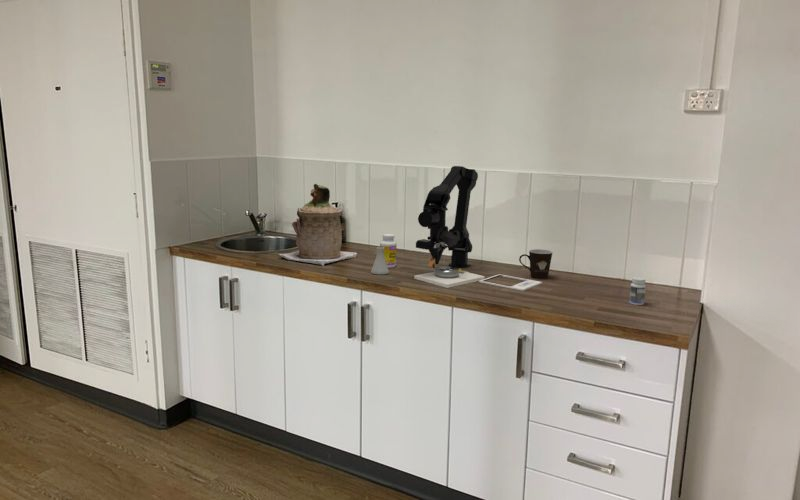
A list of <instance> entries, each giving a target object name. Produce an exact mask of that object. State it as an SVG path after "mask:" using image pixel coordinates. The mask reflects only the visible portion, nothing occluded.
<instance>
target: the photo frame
mask: <svg viewBox="0 0 800 500" xmlns="http://www.w3.org/2000/svg"><path fill="white" fill-rule="evenodd" d="M500 276H501V277H503V278H509V279H514V280H521V281H522V282H519V283H516V284H514V285H511V286H510V285H505V284H499V283H493V282H489V281H487V280H490V279H492V278H496V277H500ZM478 282H479V283H480V284H481V283H483V284H485V285H486V284H487V285H492V286H497V287H500V288H501V287H502V288H507V289H511V290H512V289H513V290H516V291H522V292H523V291H526V290H529V289H531V288H534V287H536V286H539V285H541V284H543V281H540V280H539V281H538V280H534V279H527V278H523V277H517V276H513V275H512V276H511V275H506V274H500V273H499V274H496V275H492V276H489V277H487V278H486V277H485V279H483V280H480V281H478Z"/></svg>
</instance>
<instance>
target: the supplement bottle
mask: <svg viewBox="0 0 800 500" xmlns="http://www.w3.org/2000/svg"><path fill="white" fill-rule="evenodd" d="M397 245H398V244H397V241H395V234H393V233H384V234H382V240H381V241H380V242H379V247H384V258H385V261H386V265H387V268H388V269H389V268H394V267H396V266H397Z"/></svg>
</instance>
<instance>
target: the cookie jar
mask: <svg viewBox="0 0 800 500" xmlns="http://www.w3.org/2000/svg"><path fill="white" fill-rule="evenodd" d="M330 194H331V191H330V189H329V188H328V187H327V186H324V185H320V184H318V183H314V184H313V188H312V189H311V190H310V196H311V197H312V199H311V200H310V201H309V202H307V203H305V204H304V206H302V207H301V206H299V207H298V208H297V211H296V215H297V217H298V218H296V220H295V221H293V222H292V223H291V227H292V228H293V230H294V232H295V234H296V236H295V238H296V239H295V245H296V246H297V248H298V250H296V251H292V252H289V253H279V254H278V255H279V256H280V257H281V258H284V259H286V260H288V261H295V262H296V261H297V262H303V263H308V264H309V263H310V264H314V265H319V266H322V267H324V266H325V264H330V263H335V262H338V261H342V260H343V261H344V260H346V259H353V258H354V259H355V258H356V257H357V255H358V253H357V252H352V251H341V248H342V242H343V241H342V240H343V235H342V231H343V230H342V225H341V224H342V223H341V217H340V216H341V215H342V213H343V210H342V209H340V208H339V209H338V208H336V207H334V206H332V205H331V204H330V203H329V202H330V199H331V198H330V197H331V195H330Z"/></svg>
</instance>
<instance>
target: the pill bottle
mask: <svg viewBox="0 0 800 500" xmlns="http://www.w3.org/2000/svg"><path fill="white" fill-rule="evenodd" d="M646 291H647V286H646V278H643V277H640V276H632V279H631V283H630V286H629V296H628V297H629V299H628V303H630V304H631V305H634V306H635V305H636V306H643V305H644V304H645V299H646Z"/></svg>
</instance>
